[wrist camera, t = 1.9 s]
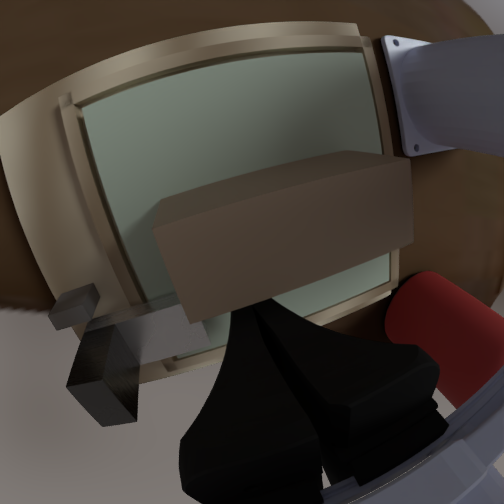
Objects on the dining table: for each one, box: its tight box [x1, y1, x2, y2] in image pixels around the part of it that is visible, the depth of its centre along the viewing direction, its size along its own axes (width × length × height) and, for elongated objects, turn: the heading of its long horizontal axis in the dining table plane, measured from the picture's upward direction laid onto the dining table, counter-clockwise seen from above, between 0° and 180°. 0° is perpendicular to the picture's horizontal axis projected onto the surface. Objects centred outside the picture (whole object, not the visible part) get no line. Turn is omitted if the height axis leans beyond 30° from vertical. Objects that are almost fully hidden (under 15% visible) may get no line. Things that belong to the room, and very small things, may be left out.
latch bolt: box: [66, 293, 211, 427], centre depth 10 cm, size 5×2×4 cm, turn 103°
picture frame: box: [0, 21, 399, 384], centre depth 12 cm, size 18×16×4 cm
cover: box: [82, 52, 414, 358], centre depth 10 cm, size 12×12×5 cm
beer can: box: [385, 271, 504, 409], centre depth 15 cm, size 7×7×12 cm
